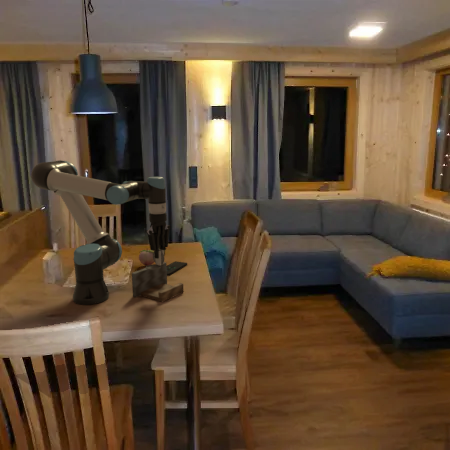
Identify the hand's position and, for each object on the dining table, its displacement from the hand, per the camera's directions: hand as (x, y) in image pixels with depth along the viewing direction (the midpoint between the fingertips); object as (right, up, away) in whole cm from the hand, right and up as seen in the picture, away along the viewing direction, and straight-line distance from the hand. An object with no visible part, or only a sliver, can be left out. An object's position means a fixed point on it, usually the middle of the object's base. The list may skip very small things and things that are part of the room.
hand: (160, 264), depth 186 cm
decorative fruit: (-13, -5, +42) cm, 45 cm away
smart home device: (+1, -7, +37) cm, 37 cm away
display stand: (0, -13, +3) cm, 14 cm away
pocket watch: (-2, -2, -1) cm, 3 cm away
